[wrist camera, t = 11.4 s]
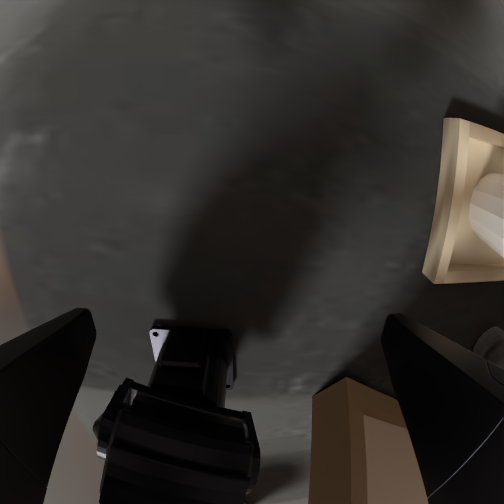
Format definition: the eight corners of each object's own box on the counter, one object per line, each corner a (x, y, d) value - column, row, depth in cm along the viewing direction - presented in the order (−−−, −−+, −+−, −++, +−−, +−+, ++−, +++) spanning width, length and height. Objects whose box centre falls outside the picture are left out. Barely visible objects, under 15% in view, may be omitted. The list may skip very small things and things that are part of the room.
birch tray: (510, 270, 21) (522, 278, 20) (421, 272, 21) (433, 283, 19) (532, 149, 17) (546, 153, 15) (443, 117, 17) (459, 118, 15)
